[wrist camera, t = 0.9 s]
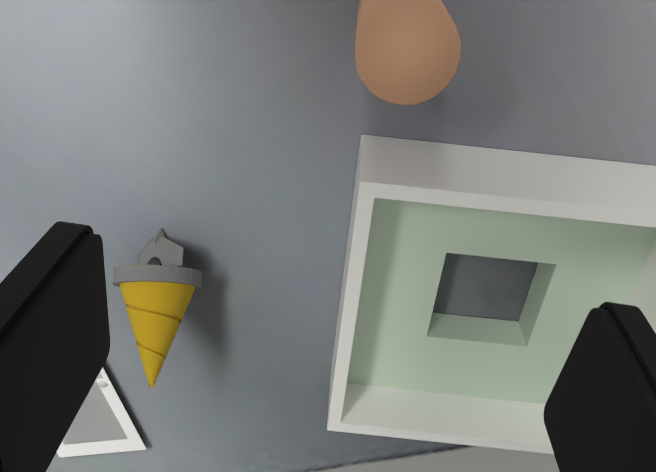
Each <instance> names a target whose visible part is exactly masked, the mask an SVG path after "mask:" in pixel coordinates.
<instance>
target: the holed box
mask: <svg viewBox="0 0 656 472" xmlns="http://www.w3.org/2000/svg"><path fill="white" fill-rule="evenodd" d="M446 253H455V254H464V255H473V256H483V257H492V258H501V259H511V260H520V261H530V262H538V265H537V268H536V271H535V274H534V277H533V280H532V283H531V286H530V289H529V292H528V295H527V298H526V301H525V304H524V307H523V309H522V312H521V315H520V318H519V321H518V322H516V321H507V320H498V319H488V318H479V317H469V316H460V315H451V314H441V313H432V311H433V307H434V303H435V299H436V295H437V290H438V286H439V282H440V278H441V274H442V269H443V265H444V261H445V257H446ZM604 302H612V303H619V304H626V305H632V306H636V307H638V308H639V309H640V310H641V311H642V313H643V314H644V316H645V317H646V319H647V321H648V322H649V324H650V325H651V327H652V328H653V330H654V332H655V333H656V166H653V165H643V164H634V163H625V162H615V161H606V160H596V159H587V158H578V157H568V156H559V155H550V154H540V153H531V152H521V151H512V150H503V149H493V148H484V147H475V146H465V145H456V144H446V143H437V142H428V141H418V140H409V139H399V138H390V137H381V136H371V135H362V134H361V139H360V147H359V154H358V162H357V170H356V178H355V186H354V193H353V201H352V209H351V217H350V225H349V232H348V240H347V248H346V256H345V264H344V271H343V279H342V287H341V295H340V303H339V310H338V318H337V326H336V334H335V342H334V349H333V357H332V366H331V380H330V394H329V408H328V422H327V430H330V431H339V432H348V433H358V434H367V435H377V436H386V437H395V438H405V439H414V440H424V441H433V442H442V443H452V444H461V445H471V446H480V447H490V448H500V449H508V450H518V451H528V452H537V453H546V454H554V452H553V449H552V446H551V443H550V439H549V436H548V433H547V430H546V427H545V423H544V407H545V404H546V402H547V400H548V398H549V396H550V393H551V391H552V389H553V387H554V385H555V383H556V381H557V379H558V377H559V374H560V372H561V370H562V368H563V366H564V364H565V362H566V360H567V358H568V355H569V353H570V351H571V349H572V347H573V345H574V343H575V341H576V339H577V336H578V334H579V332H580V330H581V328H582V326H583V324H584V322H585V320H586V317H587V315H588V313H589V312H590V310H591V309H593V308H599V306H600V305H601V304H602V303H604Z"/></svg>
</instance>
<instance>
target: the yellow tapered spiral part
mask: <svg viewBox="0 0 656 472" xmlns="http://www.w3.org/2000/svg"><path fill="white" fill-rule="evenodd" d="M160 262H161V265H159V264H160ZM182 262H183V247H181V246H179V245H178V244H176V243H174V242H172V241H170V240H168V239H166V237H165V234H164V231H163V228H161V229H160V230H159V231H158V233H157V234H156V235H155V236H154V237H153V238H152V239H151V240H150V242H149V243H148V244H147V245H146V246H145V247H144V248H143V249H142V251H141V252H140V253H139V262H138V265H125V266H119V267H116V268H115V269H114V279H113V285H115V286H119V287H120V288H121V292H122V295H123V298H124V302H125V303H126V304H127V305H126V309H127V312H128V315H129V319H130V322H131V326H132V329H133V332H134V336H135V339H136V340H137V346H138V349H139V353H140V356H141V359H142V363H143V366H144V369H145V373H146V376H147V378H148V383H149V386H150V388H153V386H154V384H155V382H156V379H157V377H158V375H159V372H160V370H161V367H162V365H163V363H164V359H165V358H166V356H167V353H168V351H169V349H170V346H171V344H172V342H173V339H174V337H175V335H176V332H177V330H178V328H179V325H180V323H181V321H182V318H183V316H184V314H185V311H186V309H187V307H188V304H189V302H190V300H191V297H192V295H193V293H194V290H196V289H200V288H202V272H201V271H199V270H196V269H192V268H186V267H182Z"/></svg>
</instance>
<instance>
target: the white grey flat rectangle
mask: <svg viewBox="0 0 656 472" xmlns="http://www.w3.org/2000/svg"><path fill="white" fill-rule="evenodd" d="M136 450H147V449H146V447H145V445H144V443H143V441H142V440H141V438H140V436H139V434H138V432H137V430H136V428H135V426H134V425H133V423H132V421H131V419H130V417H129V415H128V413H127V412H126V410H125V408H124V406H123V404H122V402H121V400H120V398H119V397H118V395H117V393H116V391H115V389H114V387H113V385H112V383H111V382H110V380H109V378H108V376H107V374H106V372H105V370H104V369H103V367H102V369H101V371H100V373H99V375H98V376H97V378H96V380H95V382H94V384H93V386H92V388H91V389H90V391H89V393H88V395H87V397H86V399H85V400H84V402H83V404H82V406H81V408H80V410H79V411H78V413H77V415H76V417H75V419H74V421H73V422H72V424H71V426H70V428H69V430H68V432H67V433H66V435H65V437H64V439H63V441H62V443H61V444H60V446H59V448H58V450H57V454H58V455H59V457H70V456H81V455H92V454H103V453H114V452H125V451H136Z"/></svg>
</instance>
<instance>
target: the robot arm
mask: <svg viewBox="0 0 656 472" xmlns="http://www.w3.org/2000/svg"><path fill="white" fill-rule="evenodd" d="M109 349H110V334H109V321H108V308H107V295H106V282H105V269H104V256H103V243H102V238H101V236H100V235H97V234H94V233H93V230H92V228H91V227H90V226H88V225H82V224H75V223H68V222H61V221H60V222H56V223H55V224H54V225H53V226H52V227H51V228H50V229H49V230H48V231H47V233H46V234H45V235H44V236H43V237H42V238H41V239H40V240H39V241H38V242H37V244H36V245H35V246H34V247H33V248H32V249H31V250H30V251H29V252H28V253H27V255H26V256H25V257H24V258H23V259H22V260H21V261H20V262H19V263H18V265H17V266H16V267H15V268H14V269H13V270H12V271H11V272H10V273H9V274H8V276H7V277H6V278H5V279H4V280H3V281H2V282H1V283H0V472H46V470H47V468H48V467H49V465H50V463H51V461H52V459H53V457H54V456H55V454H56V452H57V450H58V448H59V446H60V444H61V443H62V441H63V439H64V437H65V435H66V433H67V432H68V430H69V428H70V426H71V424H72V422H73V421H74V419H75V417H76V415H77V413H78V411H79V410H80V408H81V406H82V404H83V402H84V400H85V399H86V397H87V395H88V393H89V391H90V389H91V388H92V386H93V384H94V382H95V380H96V378H97V376H98V375H99V373H100V371H101V369H102V367H103V365H104V364H105V362H106V359H107V357H108V354H109ZM544 423H545V427H546V430H547V433H548V436H549V439H550V443H551V446H552V449H553V452H554V455H555V458H556V461H557V464H558V467H559V470H560V472H656V333H655V332H654V330H653V328H652V327H651V325H650V324H649V322H648V321H647V319H646V317H645V316H644V314H643V313H642V311H641V310H640V309H639V308H638V307H636V306H632V305H626V304H619V303H612V302H604V303H602V304H601V305H600V306H599V308H593V309H591V310H590V312H589V313H588V315H587V317H586V320H585V322H584V324H583V326H582V328H581V330H580V332H579V334H578V336H577V339H576V341H575V343H574V345H573V347H572V349H571V351H570V353H569V355H568V358H567V360H566V362H565V364H564V366H563V368H562V370H561V372H560V374H559V377H558V379H557V381H556V383H555V385H554V387H553V389H552V391H551V393H550V396H549V398H548V400H547V402H546V404H545V407H544Z"/></svg>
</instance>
